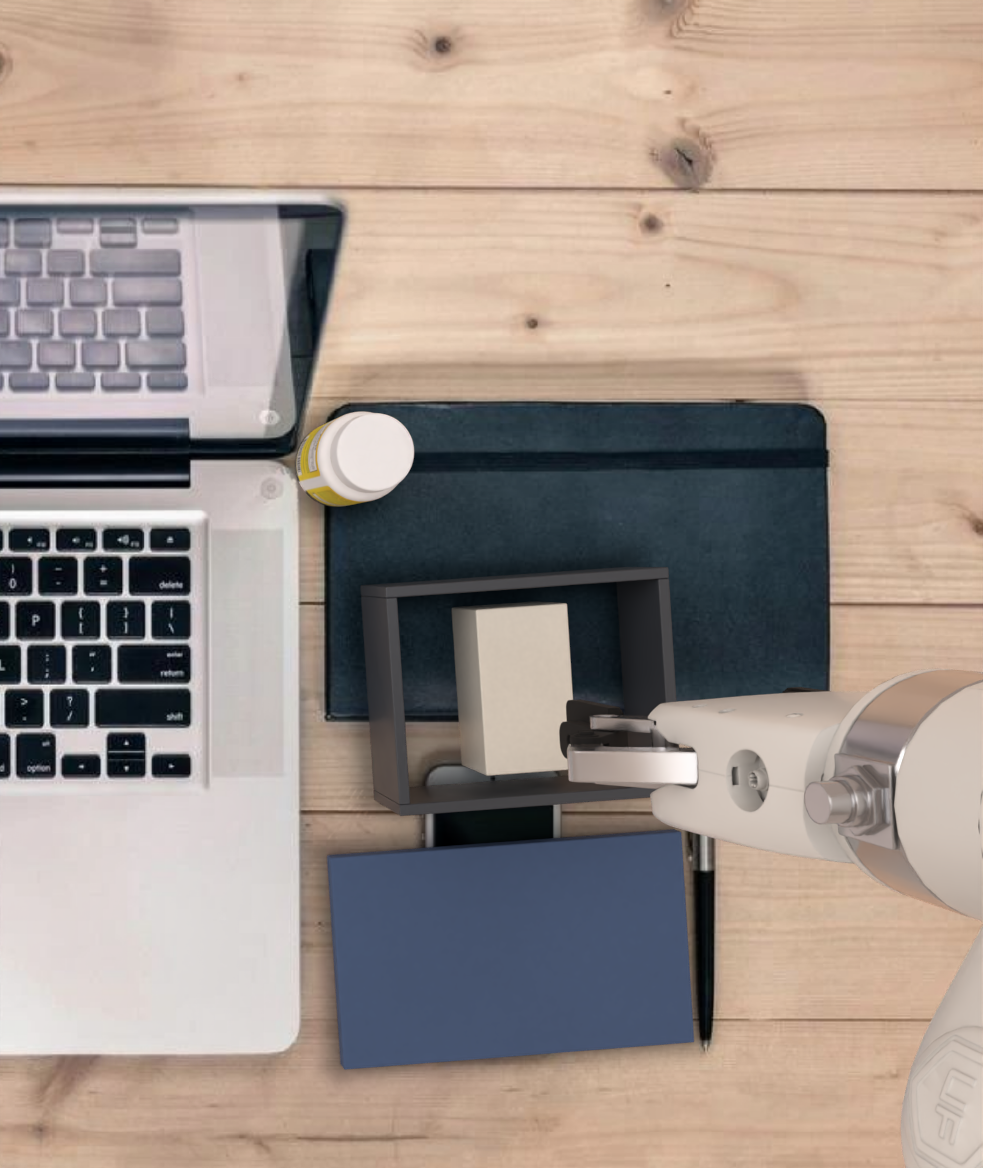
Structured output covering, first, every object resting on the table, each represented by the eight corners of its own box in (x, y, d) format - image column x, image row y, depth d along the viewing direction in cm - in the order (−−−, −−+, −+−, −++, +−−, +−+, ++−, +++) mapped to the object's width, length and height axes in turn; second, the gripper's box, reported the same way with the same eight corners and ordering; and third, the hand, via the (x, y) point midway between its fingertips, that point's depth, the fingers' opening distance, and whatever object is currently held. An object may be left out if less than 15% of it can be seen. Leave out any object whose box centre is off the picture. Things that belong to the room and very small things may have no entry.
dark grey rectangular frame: (632, 778, 76) (682, 795, 71) (370, 798, 76) (400, 816, 70) (619, 566, 76) (668, 567, 70) (356, 585, 76) (385, 586, 70)
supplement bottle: (389, 481, 75) (439, 470, 67) (318, 522, 75) (359, 517, 67) (347, 408, 75) (393, 388, 67) (276, 449, 75) (312, 435, 67)
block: (546, 758, 75) (578, 769, 71) (460, 765, 75) (486, 776, 71) (536, 601, 75) (567, 603, 71) (449, 607, 75) (475, 609, 71)
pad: (681, 1033, 76) (695, 1042, 75) (337, 1060, 76) (344, 1070, 74) (668, 826, 76) (682, 831, 75) (323, 852, 76) (330, 858, 74)
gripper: (703, 926, 41) (493, 824, 58) (1243, 893, 42) (878, 802, 59) (691, 686, 41) (484, 654, 58) (1232, 656, 42) (869, 633, 59)
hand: (682, 728), depth 59 cm, fingers open, 9 cm apart
